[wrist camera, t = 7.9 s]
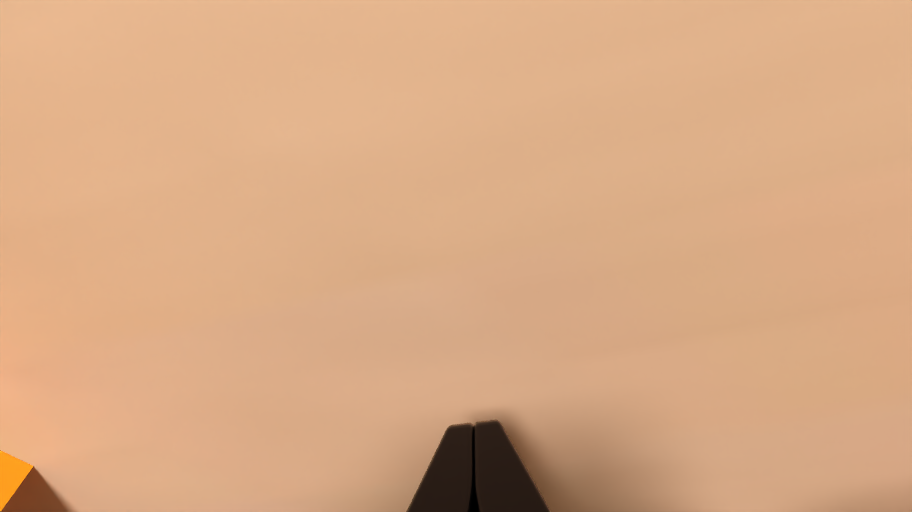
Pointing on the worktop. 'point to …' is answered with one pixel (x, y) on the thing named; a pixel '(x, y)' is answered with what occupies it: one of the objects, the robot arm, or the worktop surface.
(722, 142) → the worktop surface
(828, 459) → the worktop surface
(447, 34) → the worktop surface
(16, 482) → the pipe clamp
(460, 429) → the robot arm
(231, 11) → the worktop surface
